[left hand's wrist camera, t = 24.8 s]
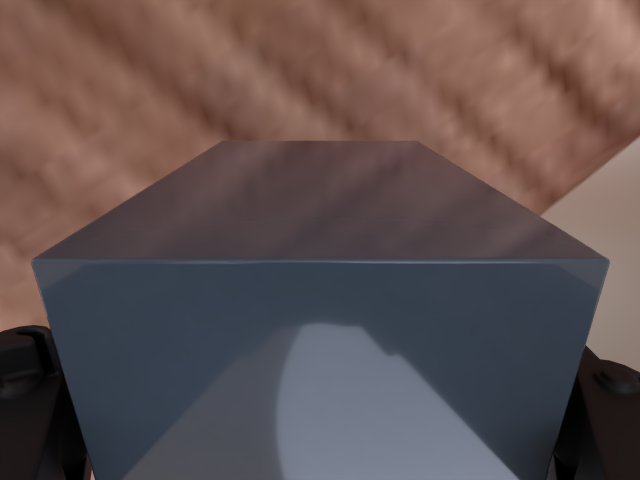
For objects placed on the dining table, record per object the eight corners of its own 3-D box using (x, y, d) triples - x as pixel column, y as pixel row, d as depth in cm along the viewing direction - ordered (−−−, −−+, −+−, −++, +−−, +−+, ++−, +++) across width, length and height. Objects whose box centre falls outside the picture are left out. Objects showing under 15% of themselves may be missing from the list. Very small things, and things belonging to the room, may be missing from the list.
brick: (236, 313, 18) (131, 608, 8) (221, 140, 16) (27, 259, 5) (403, 312, 18) (509, 608, 8) (418, 140, 16) (613, 259, 5)
